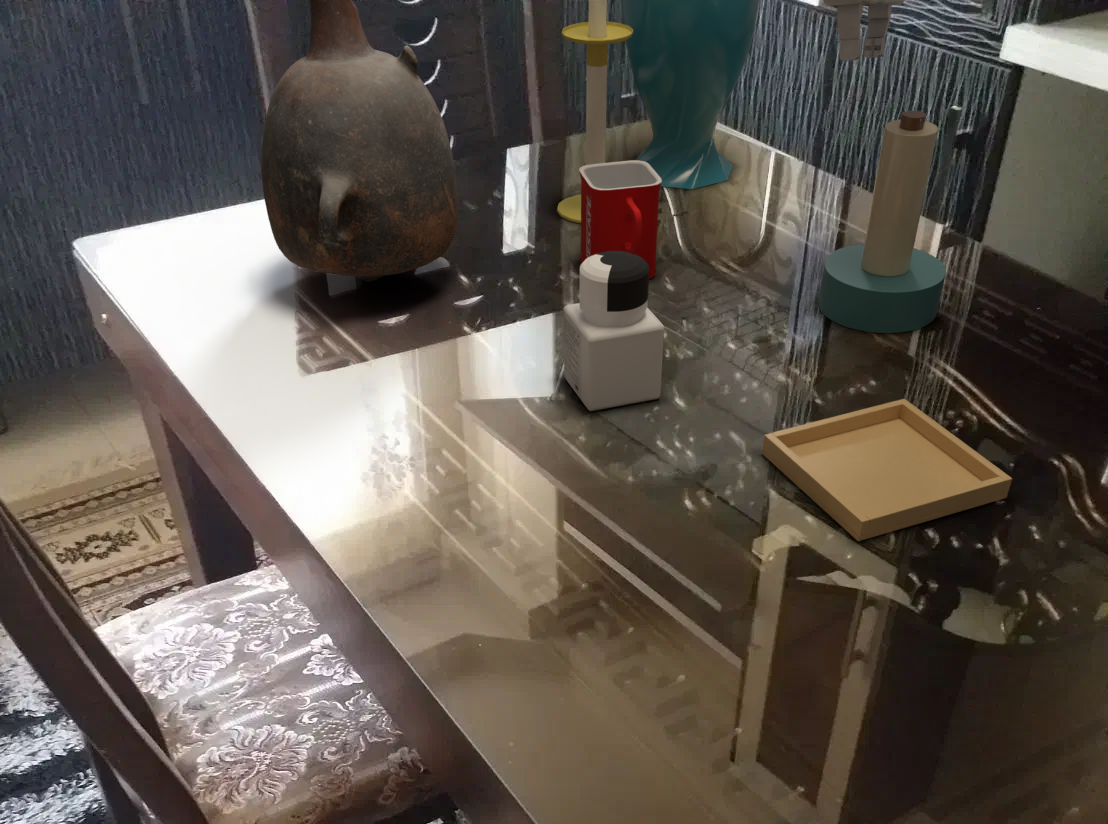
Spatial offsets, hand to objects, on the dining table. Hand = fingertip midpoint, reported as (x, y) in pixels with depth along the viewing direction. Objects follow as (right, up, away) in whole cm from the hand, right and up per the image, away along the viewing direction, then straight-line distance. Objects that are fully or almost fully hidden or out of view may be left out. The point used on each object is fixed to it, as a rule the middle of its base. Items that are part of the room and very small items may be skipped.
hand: (861, 59), depth 117 cm
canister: (+5, -18, +8) cm, 20 cm away
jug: (-53, -15, +19) cm, 58 cm away
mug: (-23, -15, +19) cm, 33 cm away
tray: (-2, -45, -13) cm, 47 cm away
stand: (+5, -21, +12) cm, 24 cm away
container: (-26, -34, 0) cm, 42 cm away
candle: (-26, 0, +33) cm, 42 cm away
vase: (-13, +10, +43) cm, 46 cm away
